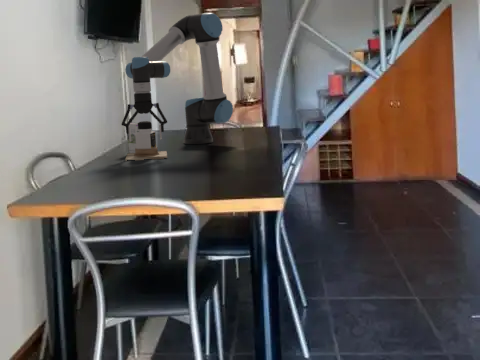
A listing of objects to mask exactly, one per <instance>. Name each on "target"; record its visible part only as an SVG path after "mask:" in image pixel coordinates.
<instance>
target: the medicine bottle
mask: <svg viewBox="0 0 480 360" xmlns="http://www.w3.org/2000/svg"><path fill="white" fill-rule="evenodd" d="M137 123H138V131H139V132H138V133H136V134H135V137H136V149H152V148H155V147H157V142H156V141H157V140H156V131H153V128H152V127H153V126H152V121H149V120H148V121H147V120H145V121H139V122H137Z"/></svg>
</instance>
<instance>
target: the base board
mask: <svg viewBox="0 0 480 360" xmlns="http://www.w3.org/2000/svg"><path fill="white" fill-rule="evenodd" d="M164 158H167V159H168V153H167V150H162V151H158V147H157V146H156V147H155V148H152V149H136V148H135V153H129V152H128V153H127V154H126V157H125V162H128V161H127V160H135V161H145V160H144V159H152V160H165V159H164Z"/></svg>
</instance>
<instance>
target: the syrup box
mask: <svg viewBox="0 0 480 360" xmlns="http://www.w3.org/2000/svg"><path fill="white" fill-rule="evenodd" d="M138 123H139V122H131V123H130V125H129V126H130V128H131V142H129V134H127V133H126V137H127V149H128V153H135V148H136V137H135V134H136V133H138V132H139V131H138Z"/></svg>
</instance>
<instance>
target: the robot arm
mask: <svg viewBox="0 0 480 360" xmlns="http://www.w3.org/2000/svg"><path fill="white" fill-rule="evenodd" d="M222 34H223V23H222V20H221V18H220V17H219V16H218V15H217V14H216V13H213V12H204V13H203V12H202V13H196V14H189V15H186V16H184V17H183V18H180V19H179V20H178V21H177V22H175V24H173V25H172V26H170V28H169V29H168V32H167V33H166V34H165V35H163V37H162V38H161V39H159V40H158V41H156V43H155V44H154V45H153V46H151V48H149V49H148V50H147V51H146V52H144V54H142V56H135V57H133V58H131V62H128V63H127V64H126V66H125V69H124V70H125V74H126V76H127V77H128V78H129V79H132V85H133V92H134V94H133V100H134V101H133V102H134V104H130V103H128V104H127V110H126V112H125V114H124V116H123V120H122V121H121V126H123V127H125V133H126V135H127V134H129V142H131V128H130V126H129V125H130V123H133V121H134V119H135V118H136V116H137V115H138V114H141V115H142V114H150V115H151V116H152V117H153V118H154V119H155V120H156V121H157V122H158V123H159V125H158V126H159V127H158V128H159V140H160V141H162V140H163V137H162V133H164V132H165V130H164V129H165V128H164V125H165V124H167V123H168V120H167V118H166V116H165V115H164V113H163V112H162V109H161V107H160V104H159V102H155V103H153V101H152V100H153V99H152V93H151V91H152V89H151V88H152V87H151V79H164V78H167V77H169V76H170V74H171V65H170V64H169V62H168V61H165V60H164V59H165V57H166V56H168V55H169V54H170V53H172V51H173V50H174V49H176V48H177V47H178V46H179V45H182V44H184V43H185V42H187V41H191V40H195V44H196V45H197V46H198V47H199V53H200V61H201V68H202V76H203V83H204V89H205V95H204V96H203V97H202V96H201V97H196V98H188V99H187V100H186V101H185V104H184V106H185V107H184V110H185V124H186V126H185V127H186V129H185V134H184V138H183V143H184V144H186V145H200V144H201V145H203V144H210V143H214V138H213V135H212V132H211V129H210V126H209V125H210V124H225V123H228V122H229V121H230V120H231V117H232V115H233V113H234V112H233V111H234V107H233V103H232V101H230V100H229V99H228V98H227V94H226V93H225V92H223V91H224V90H223V83H222V82H223V81H222V75H221V67H220V60H219V53H218V47H217V45H218V43H219V41H220V38H219V37H220V36H221V35H222ZM153 107H154V108H155V109H156V110H157V112H158V114H159V115H160V117H161V118H162V120H163V121H162V120H161V118H159V116H157V114H156V113H155V112H154V111H153V110H152V108H153ZM133 108H134V110H135V112H134V113H133V114H132V115H131V117H130V119H129V120H128V121H127V118H128V117H129V114H130V112H131V110H132V109H133ZM126 121H127V122H126Z"/></svg>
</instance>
